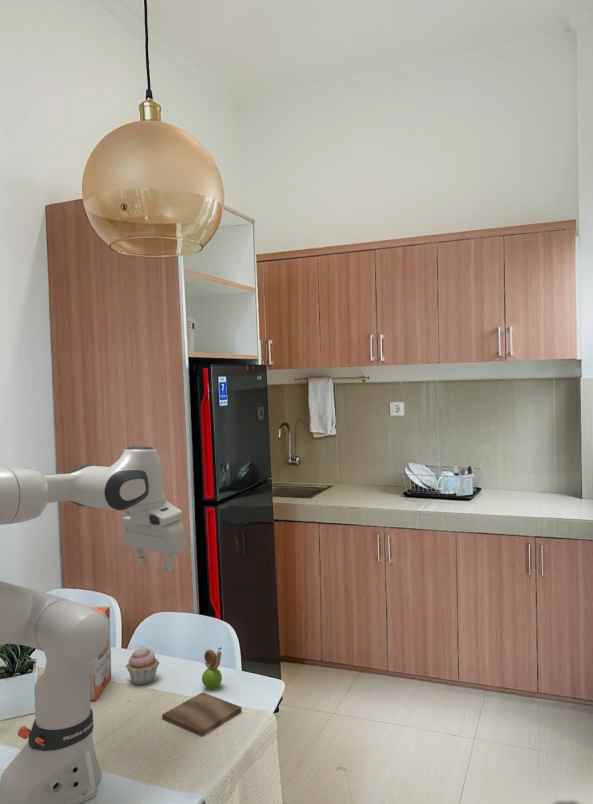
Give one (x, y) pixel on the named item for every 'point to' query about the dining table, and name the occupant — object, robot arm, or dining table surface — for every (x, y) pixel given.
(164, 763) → the dining table surface
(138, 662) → the cupcake
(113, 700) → the dining table surface
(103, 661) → the cracker box
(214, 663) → the snail figurine
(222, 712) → the walnut board
